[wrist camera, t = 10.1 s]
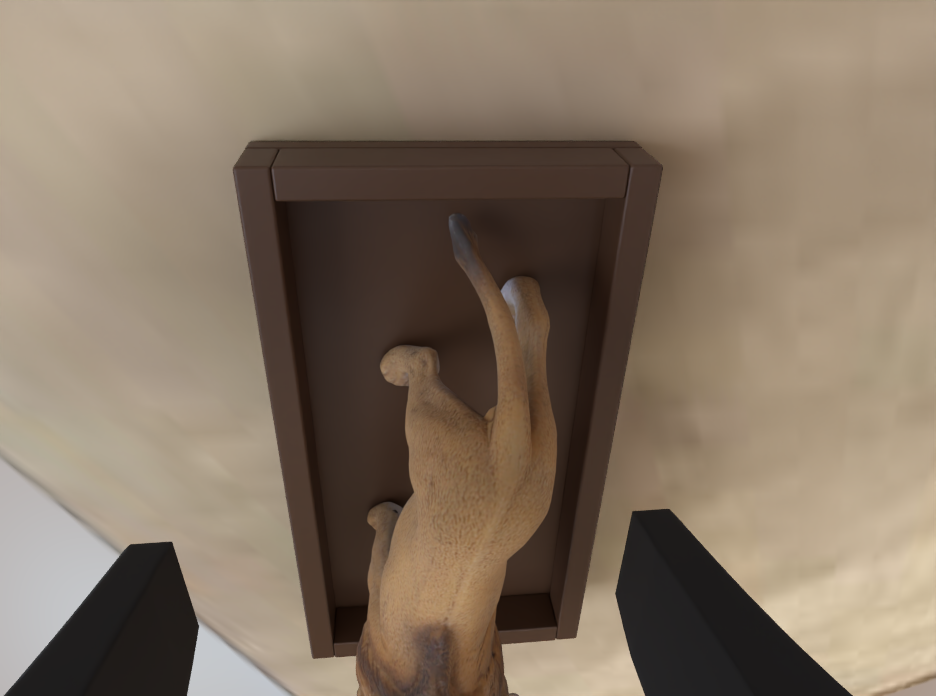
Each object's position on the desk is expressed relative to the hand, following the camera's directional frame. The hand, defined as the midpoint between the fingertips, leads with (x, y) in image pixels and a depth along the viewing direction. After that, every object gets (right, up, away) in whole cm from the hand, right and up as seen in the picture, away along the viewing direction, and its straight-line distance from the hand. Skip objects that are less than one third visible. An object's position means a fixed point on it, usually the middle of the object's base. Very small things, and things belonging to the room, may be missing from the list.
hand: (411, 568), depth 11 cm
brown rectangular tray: (0, +1, +10) cm, 10 cm away
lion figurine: (0, +1, +10) cm, 10 cm away
